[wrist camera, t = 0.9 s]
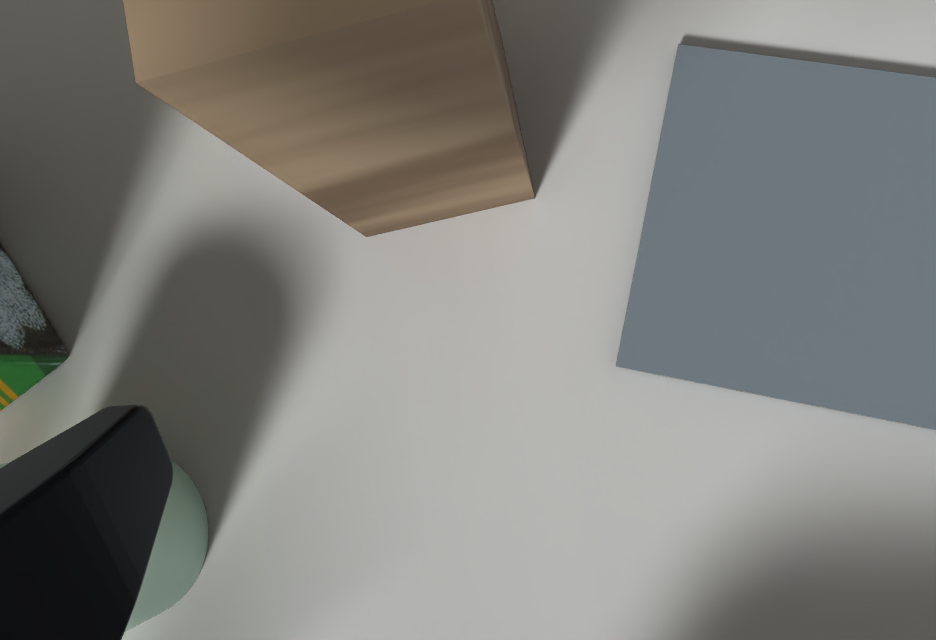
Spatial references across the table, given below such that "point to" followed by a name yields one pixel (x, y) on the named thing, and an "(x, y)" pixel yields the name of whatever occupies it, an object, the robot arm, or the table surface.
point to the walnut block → (347, 98)
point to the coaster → (792, 236)
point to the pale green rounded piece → (173, 550)
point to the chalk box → (23, 337)
